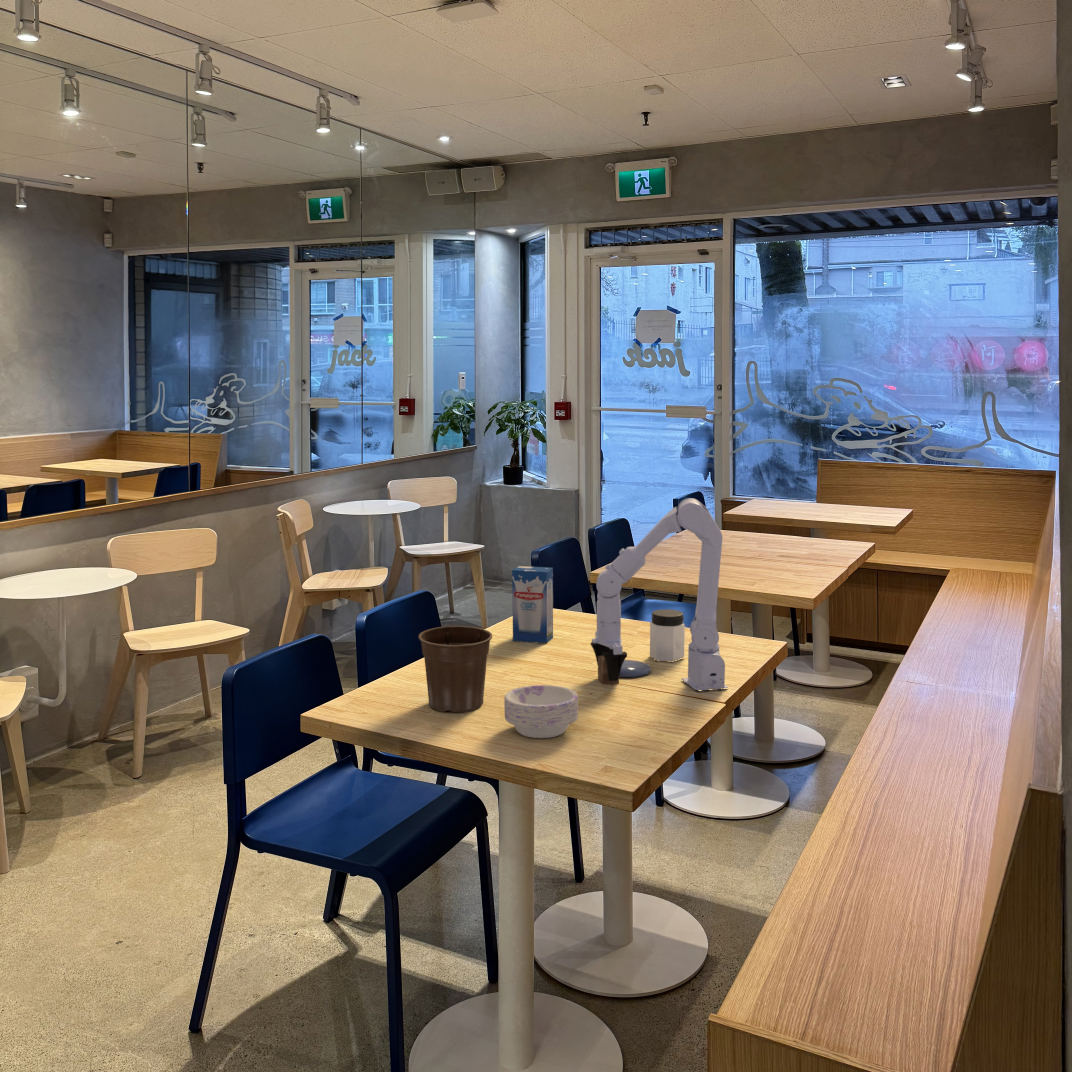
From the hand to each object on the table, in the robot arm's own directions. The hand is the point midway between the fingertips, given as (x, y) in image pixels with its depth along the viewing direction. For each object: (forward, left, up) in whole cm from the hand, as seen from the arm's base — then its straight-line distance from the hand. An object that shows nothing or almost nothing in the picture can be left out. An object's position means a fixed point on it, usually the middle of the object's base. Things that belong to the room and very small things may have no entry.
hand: (608, 675), depth 238 cm
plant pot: (-7, +38, -2) cm, 39 cm away
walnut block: (0, 0, -2) cm, 2 cm away
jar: (+15, -21, -2) cm, 26 cm away
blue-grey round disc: (+7, -7, -1) cm, 10 cm away
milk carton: (+42, +8, -2) cm, 43 cm away
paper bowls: (-28, +24, -2) cm, 37 cm away
